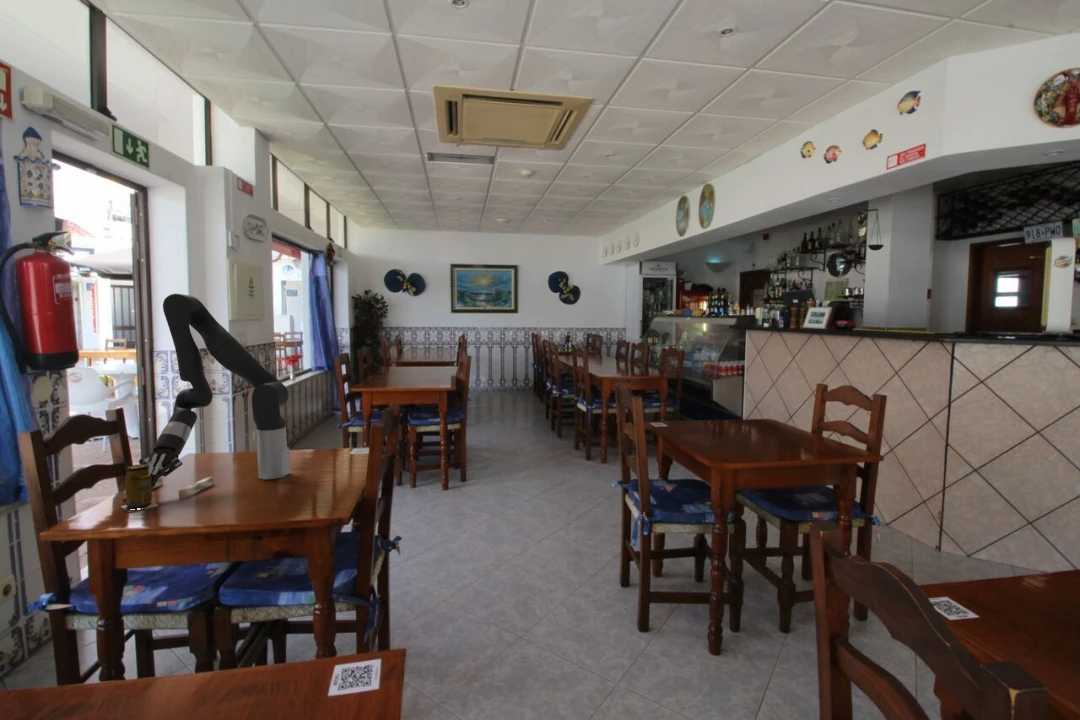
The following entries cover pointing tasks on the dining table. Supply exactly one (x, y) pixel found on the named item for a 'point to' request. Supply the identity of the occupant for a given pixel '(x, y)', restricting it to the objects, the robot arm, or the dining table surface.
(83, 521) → the dining table surface
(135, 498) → the condiment
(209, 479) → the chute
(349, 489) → the dining table surface
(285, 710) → the dining table surface
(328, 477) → the dining table surface
